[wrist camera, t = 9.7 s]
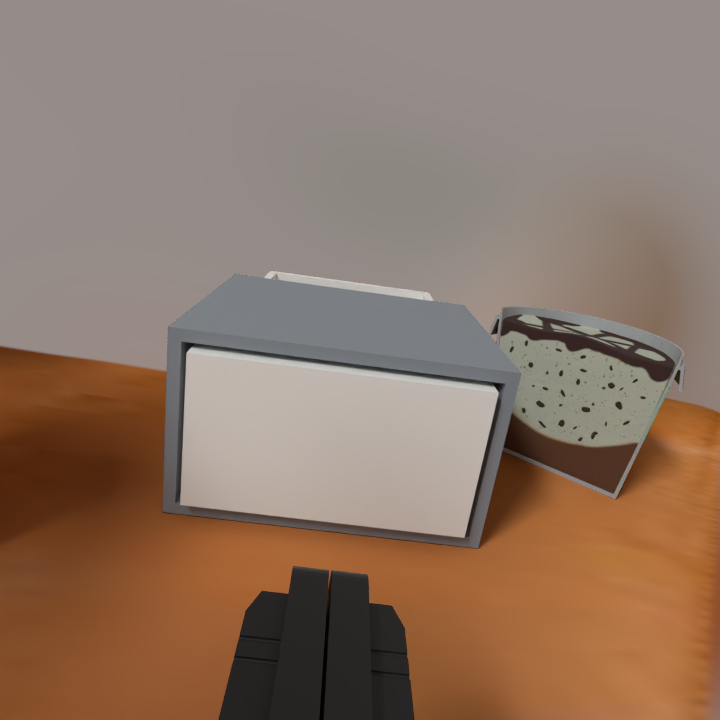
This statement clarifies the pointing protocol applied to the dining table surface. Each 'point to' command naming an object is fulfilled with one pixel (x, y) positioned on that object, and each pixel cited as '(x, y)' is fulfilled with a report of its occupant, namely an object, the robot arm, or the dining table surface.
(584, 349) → the food container
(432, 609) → the dining table surface
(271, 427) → the white cuboid
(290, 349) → the sleeve
